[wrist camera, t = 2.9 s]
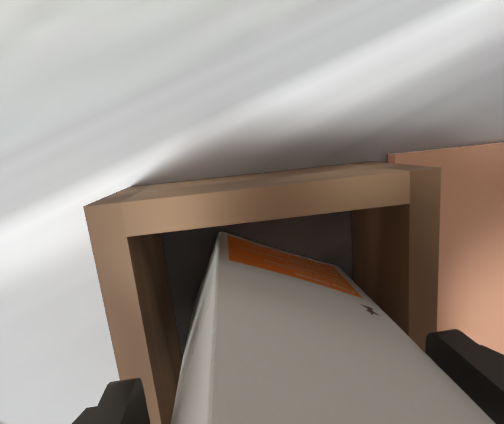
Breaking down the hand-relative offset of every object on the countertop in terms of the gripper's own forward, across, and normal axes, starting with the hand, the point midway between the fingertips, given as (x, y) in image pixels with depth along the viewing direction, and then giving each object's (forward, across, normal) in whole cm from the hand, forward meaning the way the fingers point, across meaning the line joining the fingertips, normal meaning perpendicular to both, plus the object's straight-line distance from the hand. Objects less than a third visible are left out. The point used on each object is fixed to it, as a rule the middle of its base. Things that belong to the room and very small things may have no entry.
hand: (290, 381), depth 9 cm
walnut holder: (+6, 0, 0) cm, 6 cm away
